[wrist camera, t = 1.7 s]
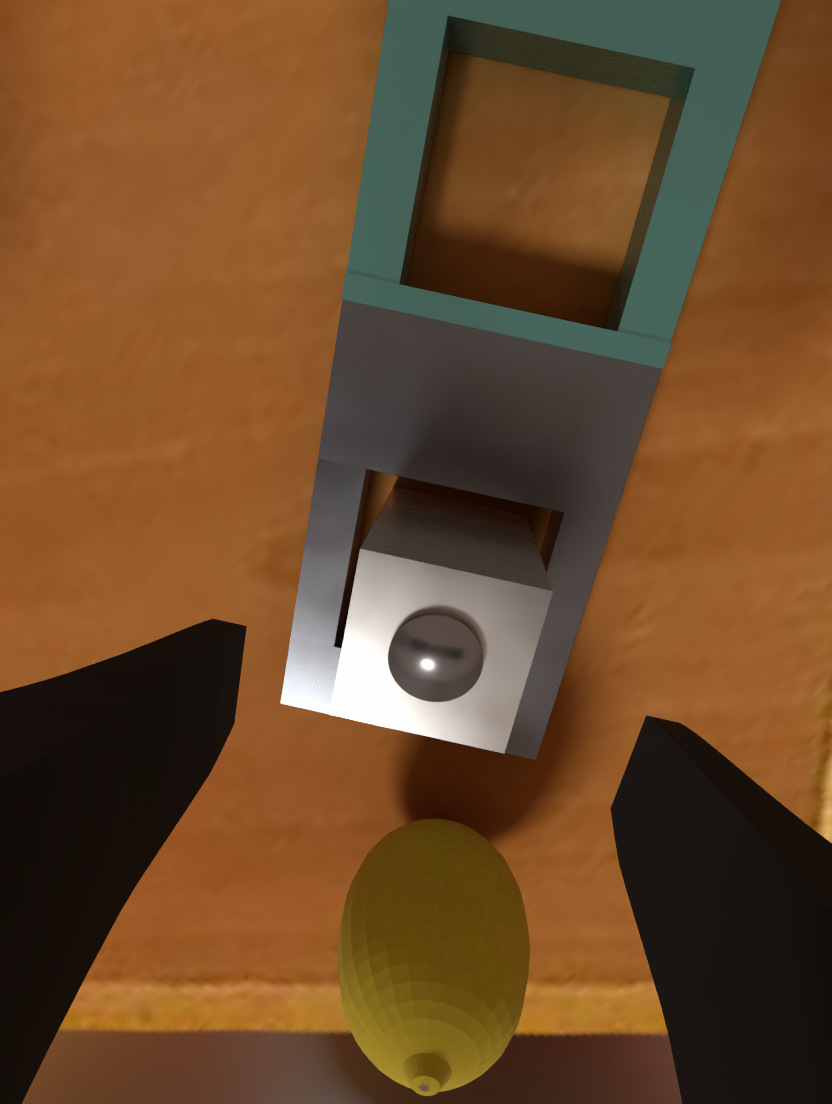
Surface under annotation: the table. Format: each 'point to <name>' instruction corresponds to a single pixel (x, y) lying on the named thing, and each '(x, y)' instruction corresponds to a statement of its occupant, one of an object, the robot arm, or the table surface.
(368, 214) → the teal silver rectangular frame
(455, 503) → the domed white cube
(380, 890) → the lemon
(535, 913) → the table surface
